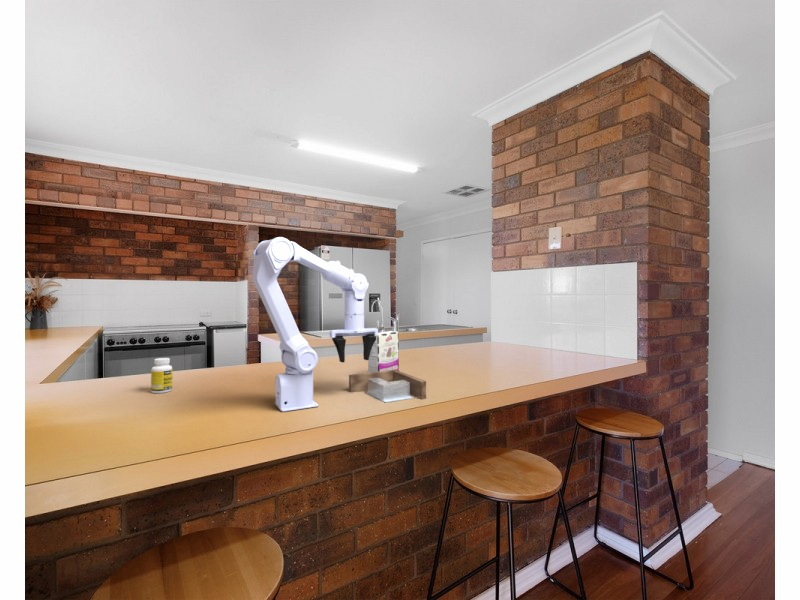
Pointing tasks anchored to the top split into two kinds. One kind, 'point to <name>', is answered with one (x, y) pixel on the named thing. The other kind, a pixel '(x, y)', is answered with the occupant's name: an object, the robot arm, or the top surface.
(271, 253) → the robot arm
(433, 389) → the top surface
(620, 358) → the top surface
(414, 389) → the corner fence
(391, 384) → the grey speckled block
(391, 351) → the candy bar box
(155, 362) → the supplement bottle
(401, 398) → the pad
